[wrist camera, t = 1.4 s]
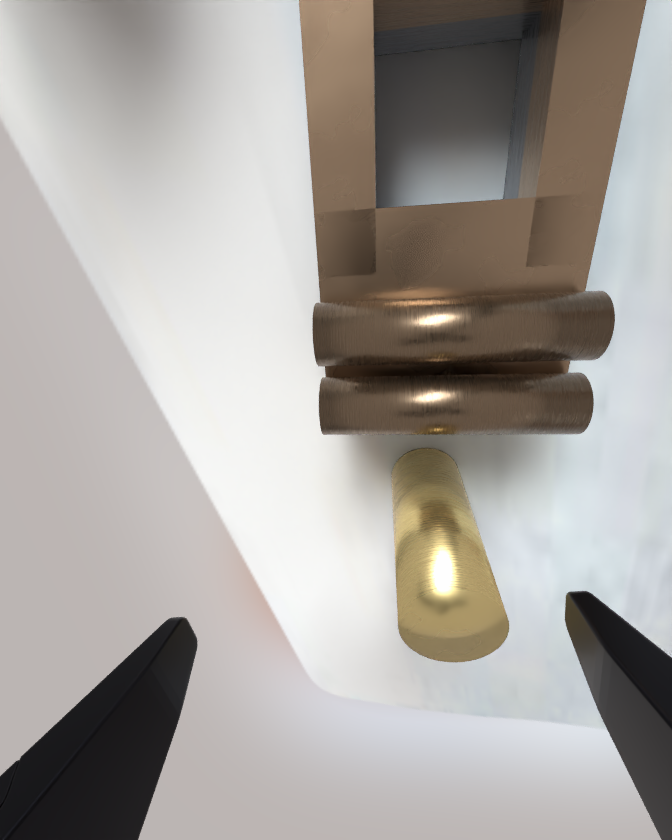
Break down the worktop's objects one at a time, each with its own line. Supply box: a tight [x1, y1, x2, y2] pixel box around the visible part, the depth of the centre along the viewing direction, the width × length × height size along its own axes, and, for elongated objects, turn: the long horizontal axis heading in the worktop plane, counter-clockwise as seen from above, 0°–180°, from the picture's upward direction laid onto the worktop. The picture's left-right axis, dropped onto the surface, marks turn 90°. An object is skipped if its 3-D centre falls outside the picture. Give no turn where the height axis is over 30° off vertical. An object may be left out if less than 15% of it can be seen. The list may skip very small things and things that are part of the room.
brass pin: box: [391, 448, 509, 662], centre depth 19 cm, size 4×4×10 cm
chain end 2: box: [299, 0, 646, 435], centre depth 14 cm, size 10×16×6 cm, turn 3°
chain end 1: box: [374, 11, 541, 199], centre depth 13 cm, size 10×16×4 cm, turn 3°
